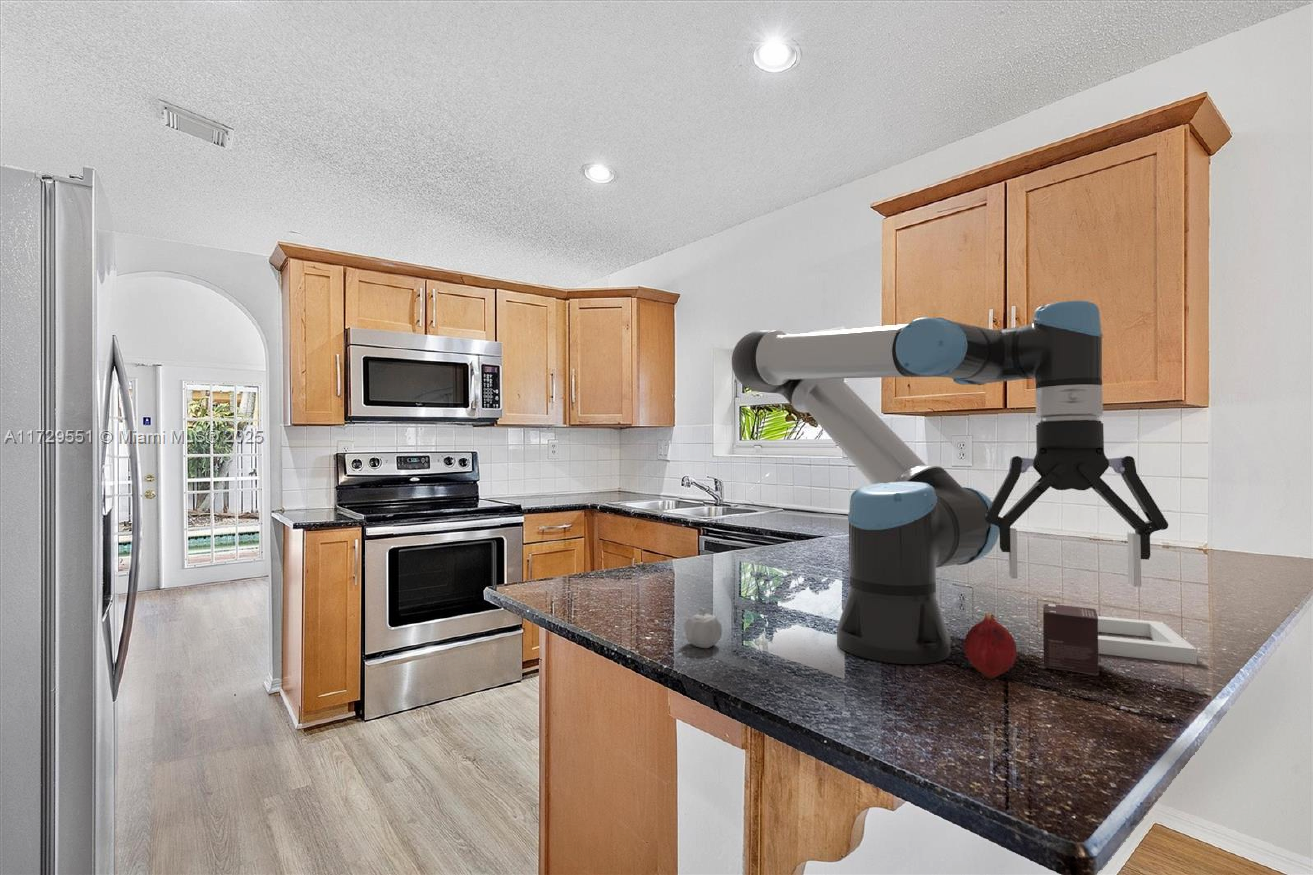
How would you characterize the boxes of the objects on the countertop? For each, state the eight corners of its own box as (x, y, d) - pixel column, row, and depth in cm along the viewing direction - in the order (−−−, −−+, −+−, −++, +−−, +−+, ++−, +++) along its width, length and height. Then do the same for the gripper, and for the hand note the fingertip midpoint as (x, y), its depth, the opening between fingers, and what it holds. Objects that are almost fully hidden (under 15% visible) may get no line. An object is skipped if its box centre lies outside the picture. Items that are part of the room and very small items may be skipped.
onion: (1024, 689, 76) (1023, 621, 76) (971, 685, 77) (971, 618, 77) (1007, 672, 82) (1007, 609, 82) (959, 669, 83) (959, 606, 83)
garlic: (687, 638, 96) (688, 603, 96) (724, 640, 95) (724, 605, 95) (681, 650, 90) (681, 613, 90) (719, 653, 89) (719, 615, 89)
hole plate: (1064, 649, 91) (1064, 635, 91) (1048, 623, 105) (1048, 611, 105) (1197, 664, 85) (1196, 649, 85) (1161, 634, 99) (1161, 621, 99)
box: (1099, 677, 80) (1098, 618, 81) (1043, 668, 84) (1042, 611, 84) (1096, 663, 86) (1096, 608, 86) (1044, 655, 89) (1043, 602, 89)
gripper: (965, 420, 87) (968, 578, 86) (1197, 415, 77) (1201, 594, 76) (963, 423, 94) (966, 569, 93) (1176, 419, 84) (1180, 582, 83)
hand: (1072, 581), depth 85 cm, fingers open, 13 cm apart
